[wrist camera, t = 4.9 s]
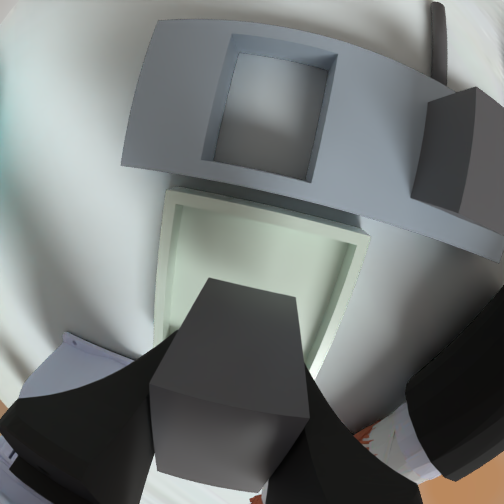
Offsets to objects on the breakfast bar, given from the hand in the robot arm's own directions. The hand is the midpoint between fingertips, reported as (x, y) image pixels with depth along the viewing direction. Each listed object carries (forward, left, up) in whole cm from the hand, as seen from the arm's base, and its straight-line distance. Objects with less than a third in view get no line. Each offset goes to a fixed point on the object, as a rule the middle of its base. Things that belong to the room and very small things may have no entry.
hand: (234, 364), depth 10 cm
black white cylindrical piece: (+13, -12, -7) cm, 19 cm away
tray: (0, 0, -6) cm, 6 cm away
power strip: (+4, +14, -6) cm, 16 cm away
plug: (0, 0, -2) cm, 2 cm away
